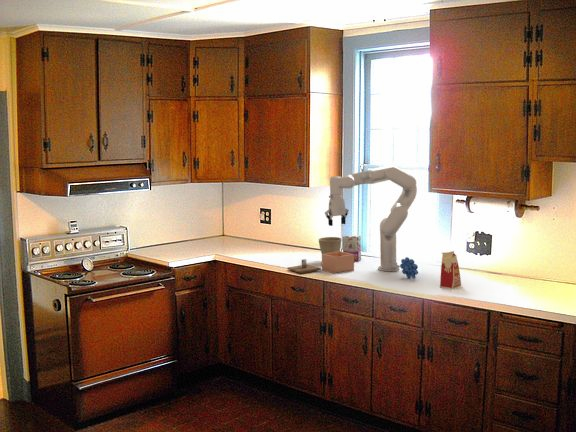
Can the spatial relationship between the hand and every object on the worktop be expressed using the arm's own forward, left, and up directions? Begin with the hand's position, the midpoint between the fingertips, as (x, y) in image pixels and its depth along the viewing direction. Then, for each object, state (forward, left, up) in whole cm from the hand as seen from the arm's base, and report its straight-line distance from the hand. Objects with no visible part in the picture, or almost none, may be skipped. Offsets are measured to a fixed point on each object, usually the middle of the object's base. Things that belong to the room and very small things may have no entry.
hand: (337, 224), depth 397 cm
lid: (+12, +17, -29) cm, 35 cm away
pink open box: (0, 0, -28) cm, 28 cm away
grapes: (-43, -18, -28) cm, 55 cm away
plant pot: (+20, -9, -28) cm, 36 cm away
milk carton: (-72, -21, -28) cm, 80 cm away
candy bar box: (+18, -25, -28) cm, 42 cm away
